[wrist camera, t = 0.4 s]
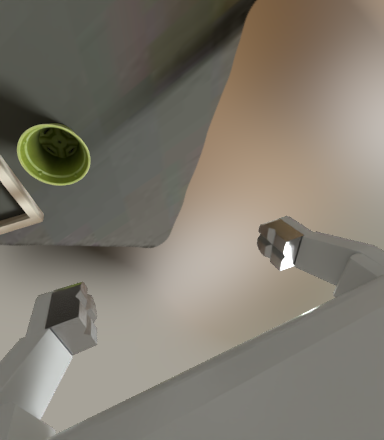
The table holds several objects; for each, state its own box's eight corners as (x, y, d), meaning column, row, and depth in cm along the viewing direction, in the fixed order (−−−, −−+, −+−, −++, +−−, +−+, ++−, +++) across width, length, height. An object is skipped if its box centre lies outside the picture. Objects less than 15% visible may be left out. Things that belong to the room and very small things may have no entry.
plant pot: (13, 140, 35) (1, 159, 29) (49, 98, 34) (43, 108, 28) (67, 174, 42) (66, 195, 36) (98, 140, 41) (103, 156, 34)
